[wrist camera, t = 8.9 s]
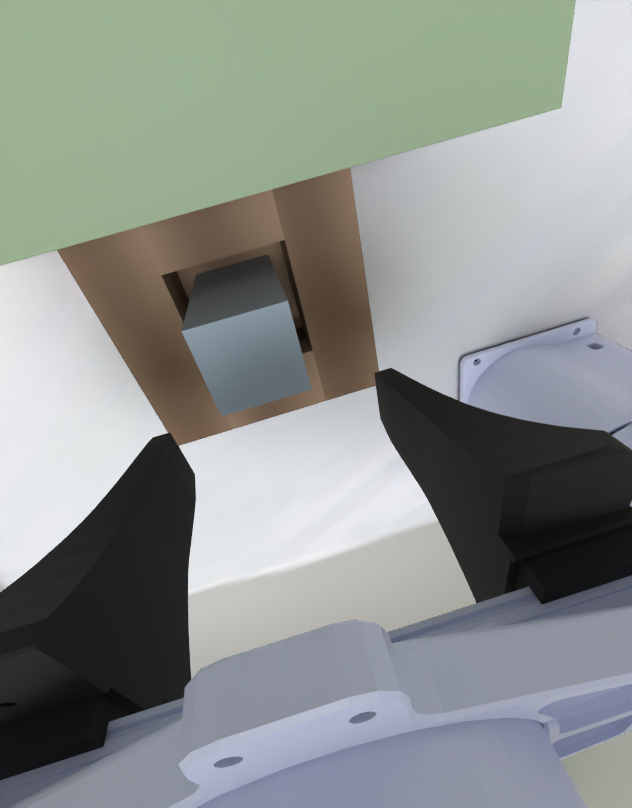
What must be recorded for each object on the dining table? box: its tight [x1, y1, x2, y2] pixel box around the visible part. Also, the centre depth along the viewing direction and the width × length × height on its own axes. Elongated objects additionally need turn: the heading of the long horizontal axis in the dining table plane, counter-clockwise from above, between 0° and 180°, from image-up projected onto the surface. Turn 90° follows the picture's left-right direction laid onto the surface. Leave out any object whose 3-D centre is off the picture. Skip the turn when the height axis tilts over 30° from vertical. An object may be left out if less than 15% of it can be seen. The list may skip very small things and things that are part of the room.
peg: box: [181, 254, 312, 416], centre depth 16 cm, size 4×4×7 cm
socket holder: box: [0, 0, 576, 446], centre depth 14 cm, size 18×14×10 cm
